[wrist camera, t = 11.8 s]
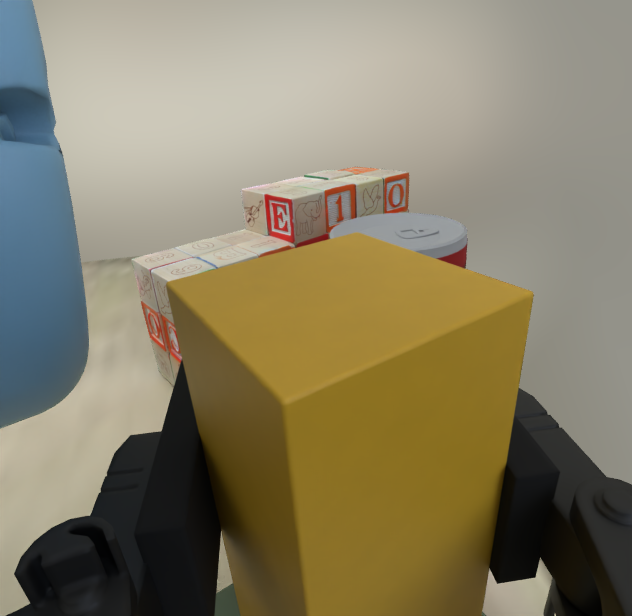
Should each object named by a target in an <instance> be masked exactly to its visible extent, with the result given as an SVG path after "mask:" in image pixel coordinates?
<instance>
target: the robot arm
mask: <svg viewBox="0 0 632 616" xmlns="http://www.w3.org/2000/svg"><path fill="white" fill-rule="evenodd" d="M55 124H56V121H55V116H54V111H53V106H52V102H51V97H50V92H49V88H48V80H47V68H46V60H45V55H44V50H43V45H42V41H41V36H40V32H39V28H38V23H37V19H36V14H35V10H34V6H33V2H32V0H0V428H3V427H6V426H8V425H11V424H14V423H16V422H19V421H22V420H24V419H27V418H30V417H32V416H35V415H38V414H40V413H42V412H44V411H46V410H48V409H50V408H52V407H54V406H55V405H56V404H58V403H59V402H61V401H62V400H63V399H64V398H65V397H66V396H67V395H68V394H69V393H70V392H71V391H72V390H73V389H74V387H75V386H76V384H77V383H78V382H79V380H80V378H81V376H82V374H83V372H84V369H85V366H86V363H87V357H88V349H89V335H88V319H87V308H86V299H85V291H84V282H83V274H82V266H81V260H80V253H79V246H78V240H77V234H76V226H75V220H74V214H73V207H72V201H71V196H70V191H69V186H68V180H67V174H66V169H65V164H64V158H63V155H62V151H61V148H60V145H59V143H58V141H57V139H56V137H55V135H54V131H53V130H54V127H55ZM220 537H221V526H220V522H219V517H218V513H217V508H216V504H215V499H214V495H213V491H212V486H211V482H210V477H209V473H208V469H207V464H206V460H205V455H204V451H203V447H202V442H201V438H200V433H199V430H198V426H197V422H196V417H195V413H194V408H193V404H192V400H191V395H190V391H189V386H188V382H187V378H186V373H185V369H184V364H183V360H182V359H181V363H180V367H179V370H178V374H177V377H176V381H175V385H174V388H173V392H172V396H171V399H170V403H169V407H168V410H167V414H166V418H165V421H164V425H163V429H162V431H161V432H153V433H145V434H138V435H130V436H129V438H128V439H127V440H126V441H125V442H124V443H123V444H122V445H121V447H120V448H119V449H118V450H117V451H116V452H115V453H114V456H113V459H112V461H111V464H110V466H109V469H108V471H107V476H106V477H105V479H104V482H103V484H102V487H101V493H99V495H98V497H97V500H96V502H95V505H94V508H93V510H92V513H91V515H90V516H84V517H79V518H74V519H70V520H67V521H65V522H63V523H61V524H59V525H57V526H55V527H53V528H51V529H50V530H48V531H47V532H46V533H44V534H43V535H42V536H40V537H39V538H38V539H37V540H35V541H34V542H33V543H32V545H31V546H30V547H29V548H28V550H27V551H26V552H25V553H24V554H23V556H22V557H21V559H20V561H19V564H18V566H17V568H16V571H15V573H14V575H15V576H16V578H17V580H18V582H19V584H20V585H21V587H22V589H23V591H24V593H25V594H26V596H27V598H28V600H29V602H30V603H31V604H29V605H27V606H25V607H23V608H21V609H19V610H17V611H15V612H13V613H11V614H8V615H6V616H214V615H215V602H216V589H217V576H218V563H219V550H220ZM540 557H541V559H542V561H543V562H544V564H545V566H546V567H547V569H548V571H549V572H550V574H551V575H552V577H553V578H552V582H551V586H550V590H549V594H548V597H547V601H546V605H545V609H544V616H554V613H556V616H632V485H631V484H629V483H627V482H624V481H622V480H618V479H614V478H608V477H606V476H605V475H604V474H603V473H602V472H601V470H600V469H599V468H598V467H597V466H596V465H595V464H594V463H593V462H592V460H591V459H590V458H589V457H588V456H587V455H586V454H585V453H584V452H583V451H582V450H581V448H580V447H579V446H578V445H577V444H576V443H575V442H574V441H573V440H572V439H571V437H569V435H568V434H567V433H566V432H565V431H564V430H563V429H562V428H559V424H558V423H557V422H556V421H555V420H554V419H553V418H552V417H551V415H548V414H547V411H546V410H545V409H544V408H543V407H542V406H541V405H540V403H539V402H538V401H537V400H536V399H535V398H534V397H533V396H532V395H530V394H528V393H527V392H525V391H523V390H521V389H520V388H518V394H517V400H516V407H515V413H514V419H513V425H512V431H511V437H510V443H509V450H508V456H507V462H506V467H505V473H504V479H503V485H502V491H501V497H500V504H499V510H498V516H497V522H496V528H495V534H494V541H493V547H492V553H491V559H490V565H489V568H490V570H491V572H492V574H493V576H494V578H495V580H496V582H497V584H498V583H504V582H511V581H517V580H523V579H529V578H535V577H536V572H537V568H538V564H539V560H540Z"/></svg>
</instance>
